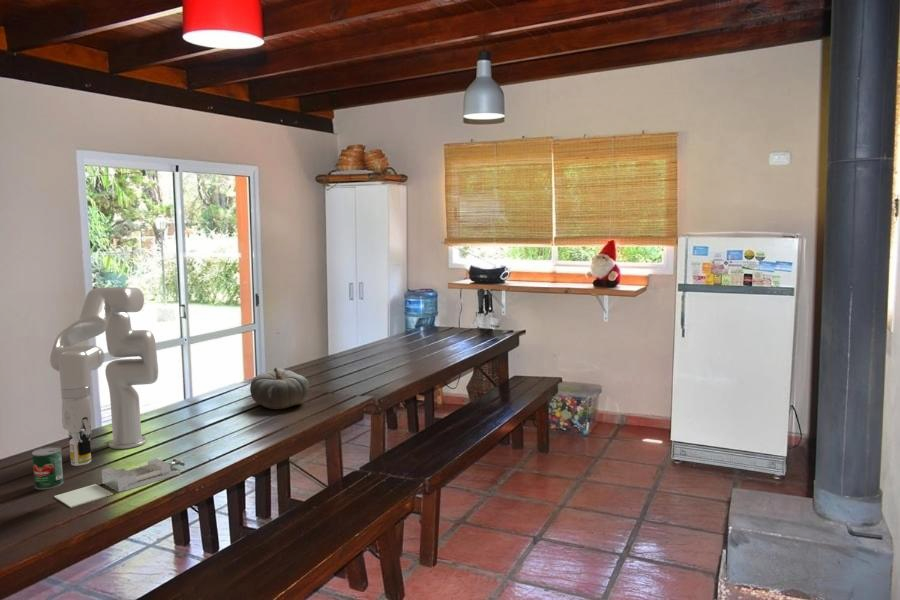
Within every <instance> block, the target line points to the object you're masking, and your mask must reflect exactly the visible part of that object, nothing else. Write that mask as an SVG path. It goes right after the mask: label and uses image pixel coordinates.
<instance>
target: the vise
mask: <svg viewBox="0 0 900 600" xmlns="http://www.w3.org/2000/svg"><path fill="white" fill-rule="evenodd" d="M179 465H180V466H183V467H184V466H185V465H186V464H185V462H184V461H181V460H178V459H176V458H173V459H172V462H171V461H170V462H168V463H167V462H166V461H163V460H161V459H158V458H154V459H151V460H148V461H147V464H145V465H141V466H139V467H135V468H132V469H125V468H118V469H116V468H114V467H112V466H111V467H108V468H104V469H101V477H102V481H101V482H102V484H103V485H104V484H105V485H104V486H106V487H108V486H109V489H112V490H113V489H114V491H116V492H117V493H121V492H126V491H129V490H132V489H136V488H139V487H142V486H145V485H148V484H152V483H155V482H159V481H161V480H165V479H168V478H171V477H174V476H178V475H181V470H180V469H177V470H174V471H171V470H172V469H171V468H172V467H175V466H179Z"/></svg>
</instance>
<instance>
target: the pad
mask: <svg viewBox="0 0 900 600" xmlns="http://www.w3.org/2000/svg"><path fill="white" fill-rule="evenodd" d="M110 495H111V496H113V495H114V493H113V492H112V491H109V490H107V489H106V488H104V487H103V486H100V485H98V484H96V483H94V484H91V485H87V486H83V487H81V488H77V489H74V490H70V491H67V492H64V493H61V494H57V495H54V496H53V497H54V498H55V499H56V500H58V501H59V502H61V503H63V504H64V505H65V506H67V507H69V508H75V507H77V506H81V505H84V504H85V505H86V504H88V503H90V502H91V503H92V502H94V501H97V500H100V499H104V498H107V496H108V497H110Z"/></svg>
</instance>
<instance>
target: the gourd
mask: <svg viewBox="0 0 900 600" xmlns="http://www.w3.org/2000/svg"><path fill="white" fill-rule="evenodd" d="M249 388H250V389H249V391H250V396H251V398H252V399H253V401H254V402H255V403H256V404H258V405H259V406H263V407H264V408H267V409H271V410H282V409H283V410H284V409H287V408H291V407H292V406H298V405H300V404H302V403H303V401H304V400H305V399H306V398H307V396H308V393H309V389H310V385H309V381H308V379H307V378H306V377H305V376H303V375H300V374H298V373H296V372H294V371H292V370H286V369H284V368H277V367H275V368H274V369H271V370H268V371H267V372H265V371H264V372H263V373H260V374H258V375H256V376H255V377H253V379H252V380H251V383H250V387H249Z"/></svg>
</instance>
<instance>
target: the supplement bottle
mask: <svg viewBox="0 0 900 600" xmlns="http://www.w3.org/2000/svg"><path fill="white" fill-rule="evenodd" d="M80 431H84V429H81V430H80ZM83 434H85V433H81V436H83ZM71 436H72V437H73V438H72V439H71V440H70V441H69V442H68V443H69V458H70V464H71V465H72V466H75V467H76V466H83V465H88V464H90V463H91V462H92V453H89V454H85V455H81V456H80V455H79V451H78V442H79V438H78V433H76V434H75V433H72V432H71Z"/></svg>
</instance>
